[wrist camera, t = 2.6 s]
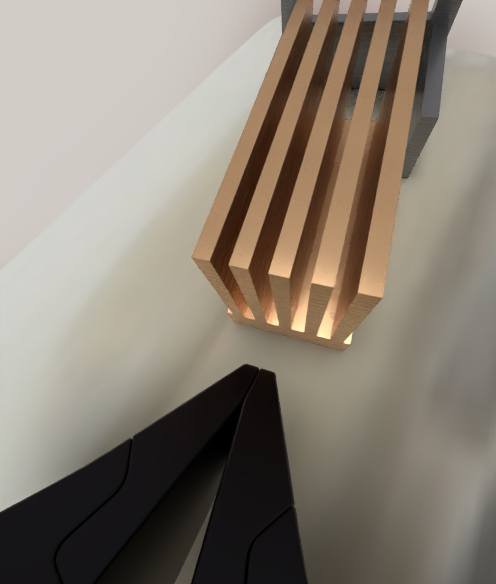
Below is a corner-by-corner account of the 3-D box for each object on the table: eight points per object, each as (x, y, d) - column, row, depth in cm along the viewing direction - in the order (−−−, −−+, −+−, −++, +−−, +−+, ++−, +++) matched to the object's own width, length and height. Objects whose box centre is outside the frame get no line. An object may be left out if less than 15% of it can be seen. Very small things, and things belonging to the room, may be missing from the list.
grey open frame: (410, 178, 17) (557, -98, 8) (257, 162, 19) (223, -62, 10) (423, 83, 20) (543, -209, 10) (288, 79, 22) (283, -160, 13)
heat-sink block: (342, 351, 14) (395, 300, 7) (235, 322, 16) (182, 255, 8) (381, 149, 18) (439, -16, 11) (294, 141, 20) (293, -9, 13)
